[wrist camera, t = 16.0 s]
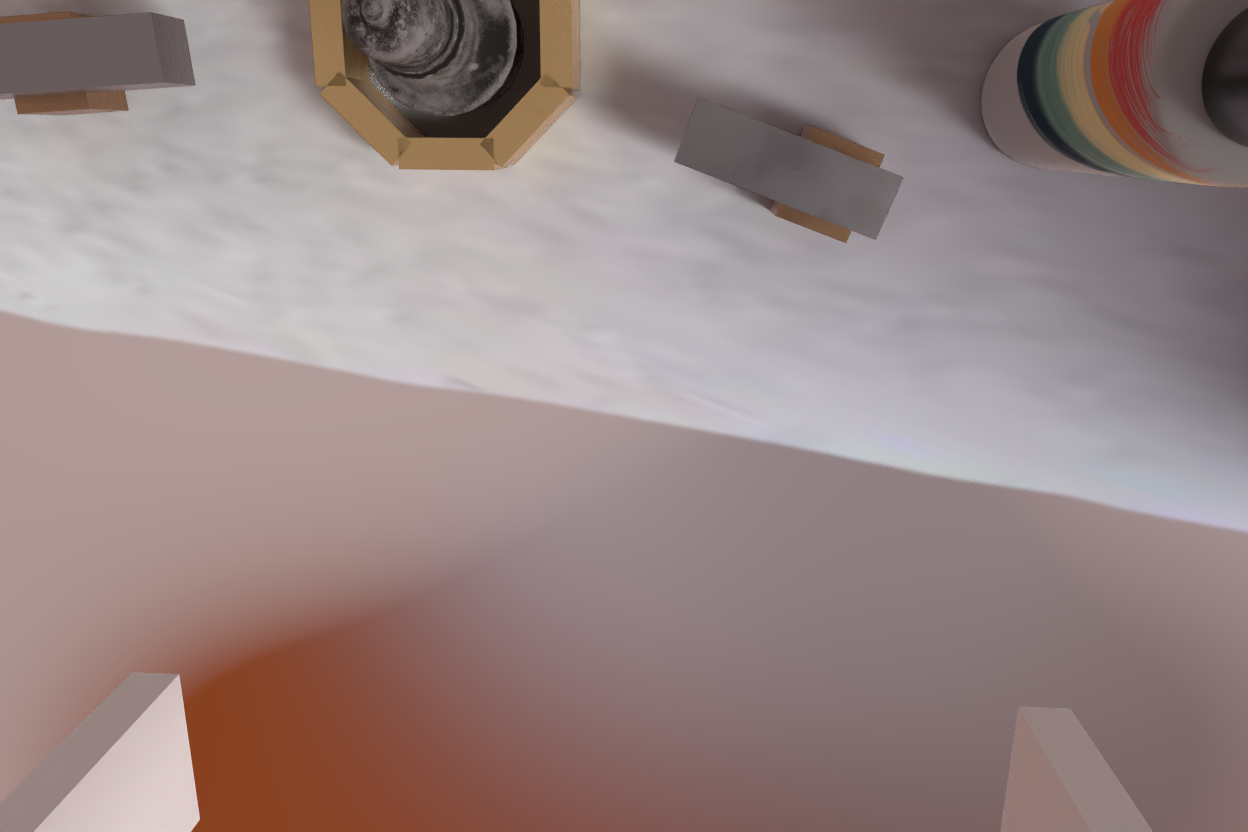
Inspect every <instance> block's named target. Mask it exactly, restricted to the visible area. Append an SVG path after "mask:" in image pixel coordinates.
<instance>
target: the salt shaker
mask: <svg viewBox="0 0 1248 832" xmlns="http://www.w3.org/2000/svg"><path fill="white" fill-rule="evenodd" d="M341 20H342V23H343V26H344V29H345V32H346V33H347V35H348V37H349V38H350V40H351V42H352V43H353V44H354V45H355V46H356V47H357V48H358V49H359V50H360V51H361V52H362V53H363V54H365V55H367V58H368V61H369V65H370V67H371V69H372V70H373V72H374V74H375V75H376V77H377V79H378V80H379V82H380V84H381V85H382V86H383V87H384V88H385V89H386V90H387V91H388V92H389V93H390V94H391V95H392V96H393V97H394V98H395V99H396V100H398V101H399V102H401V103H403V104H404V105H406V106H408V107H409V108H411V109H413V110H415V111H419V112H422V113H426V114H429V115H433V116H454V115H458V114H461V113H465V112H468V111H472V110H474V109H475V108H478V107H481V106H485V105H487V104H489V103H491V102H492V101H494V100H495V99H497V98H499V97H500V96H501V95H502V94H503V93H504V92H505V91H506V90H507V89H508V88H509V87H510V85H511V84H512V83H513V81H514V79H515V77H516V75H517V73H518V71H519V69H520V65H521V61H522V57H523V52H524V44H523V31H522V27H521V23H520V19H519V16H518V14H517V12H516V10H515V9H514V7H513V5H512V3H511V1H510V0H342V3H341Z"/></svg>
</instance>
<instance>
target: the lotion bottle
mask: <svg viewBox="0 0 1248 832" xmlns="http://www.w3.org/2000/svg"><path fill="white" fill-rule="evenodd" d="M981 108H982V116H983V120H984V124H985V127H986V129H987V132H988V134H989V135H990V137H991V139H992V140H993V142H994V143H995V144H996V145H997V147H998V148H999V149H1000V150H1001V151H1002V152H1003V153H1005V154H1006V155H1007V156H1008V157H1010V158H1012V159H1013V160H1015V161H1017V162H1020V163H1022V164H1025V165H1028V166H1032V167H1036V168H1041V169H1049V170H1057V171H1067V172H1077V173H1087V174H1097V175H1107V176H1117V177H1127V178H1137V179H1147V180H1157V181H1167V182H1177V183H1187V184H1198V185H1209V186H1221V187H1248V0H1111V1H1107V2H1104V3H1101V4H1098V5H1094V6H1091V7H1088V8H1085V9H1081V10H1078V11H1075V12H1072V13H1068V14H1065V15H1062V16H1059V17H1056V18H1053V19H1050V20H1047V21H1044V22H1042V23H1039V24H1037V25H1034V26H1032V27H1030V28H1028V29H1027V30H1025V31H1023V32H1022V33H1020V34H1019V35H1017V36H1016V37H1015V38H1013V39H1012V40H1011V41H1010V42H1009V43H1008V44H1007V45H1006V46H1005V47H1004V48H1003V49H1002V50H1001V51H1000V53H999V54H998V55H997V57H996V58H995V60H994V61H993V63H992V65H991V67H990V69H989V71H988V73H987V76H986V78H985V82H984V85H983V90H982V98H981Z"/></svg>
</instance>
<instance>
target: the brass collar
mask: <svg viewBox="0 0 1248 832" xmlns="http://www.w3.org/2000/svg"><path fill="white" fill-rule="evenodd" d="M341 3H342V0H309V8H310V20H311V32H312V45H313V57H314V70H315V82H316V86H320V87H325V88H324V89H323V90H322V92H321V93H320V95H321V96H322V97H323V98H324V99H325V100H326V101H327V102H328V103H329V104H330V105H331V106H332V107H333V108H334V109H335V110H336V111H337V112H338V113H339V114H340V115H341V116H342V117H343V118H344V119H345V120H346V121H347V122H348V123H349V124H350V125H351V126H352V127H353V128H354V129H355V130H356V131H357V132H358V133H359V134H360V135H361V136H362V137H363V138H364V139H365V140H366V141H367V142H368V143H369V144H370V145H371V146H372V147H373V148H374V149H375V150H376V151H377V152H378V153H379V154H380V155H381V156H382V157H383V158H384V159H385V160H386V161H387V162H388V163H389V164H390V165H391V166H395V165H399V169H438V170H497V169H502V168H507V167H508V166H509V165H514V164H515V163H516V162H517V161H518V160H519V159H520V158H521V157H522V156H523V155H524V154H525V153H526V152H527V150H528V149H529V148H530V147H531V146H532V145H533V144H534V143H535V142H536V141H537V140H538V139H539V138H540V137H541V136H542V135H543V134H544V132H545V131H546V130H547V129H548V128H549V127H550V126H551V125H552V124H553V123H554V122H555V121H556V120H557V119H558V118H559V117H560V116H561V114H562V113H563V112H564V111H565V110H566V109H567V108H568V107H569V106H570V105H571V104H572V103H573V102H574V101H575V100H576V99H577V97H576V96H575V95H574V94H573V93H572V92H571V91H570V90H580V0H540V59H541V78H540V80H539V81H538V82H537V83H536V84H535V85H534V86H533V87H532V88H531V89H530V90H529V91H528V93H527V94H526V95H525V96H524V97H523V98H522V99H521V100H520V101H519V102H518V103H517V104H516V105H515V107H514V108H513V109H512V110H511V111H510V112H509V113H508V114H507V115H506V116H505V117H504V118H503V120H502V121H501V122H500V123H499V124H498V125H497V126H496V127H495V128H494V129H493V130H492V131H491V132H490V134H489V135H488V136H487V137H486V138H471V137H425V136H424V135H423V134H422V133H421V132H420V131H419V130H418V129H417V128H416V127H415V126H414V125H413V124H412V123H411V122H410V121H409V120H408V119H407V118H406V117H405V116H404V115H403V114H402V113H401V112H400V111H399V110H398V109H397V108H396V107H395V106H394V105H393V104H392V103H391V102H390V101H389V100H388V99H387V98H386V97H385V96H384V95H383V94H382V93H381V92H380V91H379V90H378V89H377V88H376V87H375V86H374V85H373V84H372V83H371V82H370V78H369V62H368V58H367V55H365V54H363V53H362V52H361V51H360V50H359V49H358V48H357V47H356V46H355V45H354V44H353V43H352V42H351V40H350V38H349V37H348V35H347V33H346V32H345V29H344V26H343V23H342V20H341Z"/></svg>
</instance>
